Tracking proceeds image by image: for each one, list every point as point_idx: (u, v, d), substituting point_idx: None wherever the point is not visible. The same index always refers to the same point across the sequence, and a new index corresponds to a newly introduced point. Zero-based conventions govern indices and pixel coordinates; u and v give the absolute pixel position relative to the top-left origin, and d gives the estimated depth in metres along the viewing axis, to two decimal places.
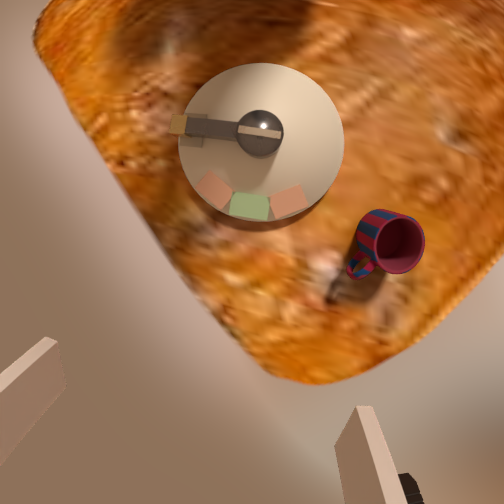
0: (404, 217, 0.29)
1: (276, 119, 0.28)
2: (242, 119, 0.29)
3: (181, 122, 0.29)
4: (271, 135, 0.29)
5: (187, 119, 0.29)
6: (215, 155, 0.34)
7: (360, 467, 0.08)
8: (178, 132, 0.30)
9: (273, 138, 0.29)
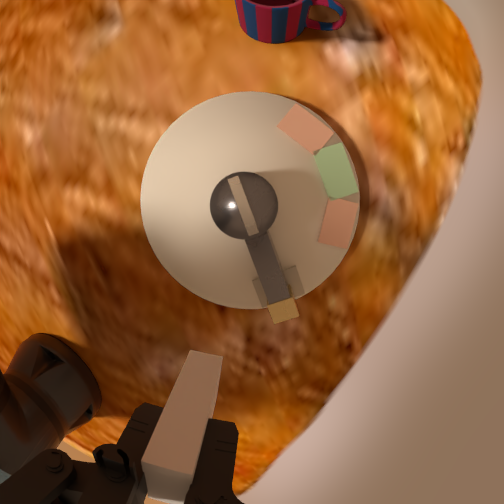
0: None
1: (215, 194, 0.21)
2: (238, 236, 0.22)
3: (279, 308, 0.24)
4: (239, 188, 0.21)
5: (272, 302, 0.24)
6: (297, 244, 0.26)
7: None
8: (293, 305, 0.24)
9: (242, 184, 0.21)
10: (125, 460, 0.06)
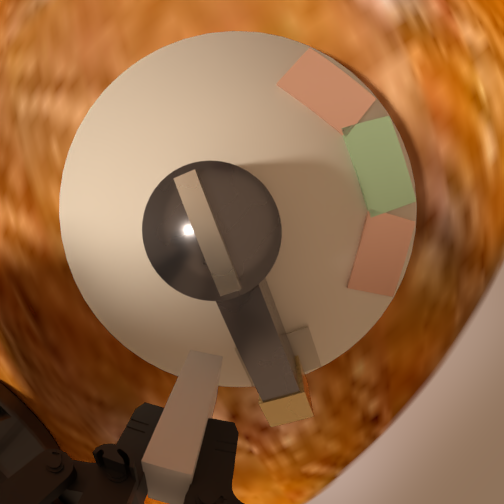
0: None
1: (150, 210, 0.10)
2: (200, 294, 0.11)
3: (280, 407, 0.12)
4: (198, 197, 0.10)
5: (268, 399, 0.12)
6: (311, 291, 0.15)
7: None
8: (305, 402, 0.12)
9: (204, 187, 0.10)
10: (125, 460, 0.06)
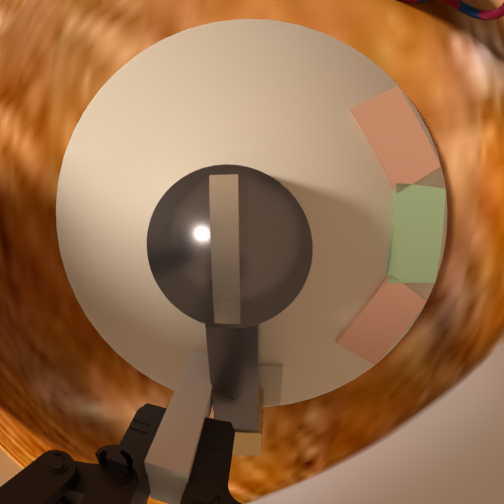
0: None
1: (168, 200, 0.08)
2: (192, 312, 0.09)
3: None
4: (230, 208, 0.08)
5: None
6: (300, 333, 0.14)
7: None
8: (257, 442, 0.11)
9: (240, 199, 0.08)
10: (128, 461, 0.06)
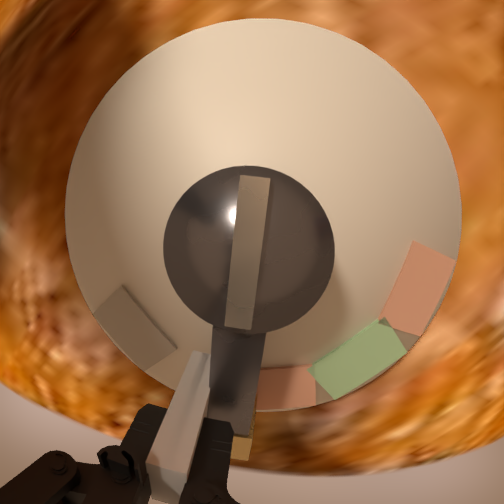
0: None
1: (193, 195, 0.08)
2: (202, 312, 0.09)
3: None
4: (257, 211, 0.08)
5: None
6: None
7: None
8: (247, 447, 0.11)
9: (269, 203, 0.08)
10: (130, 462, 0.06)
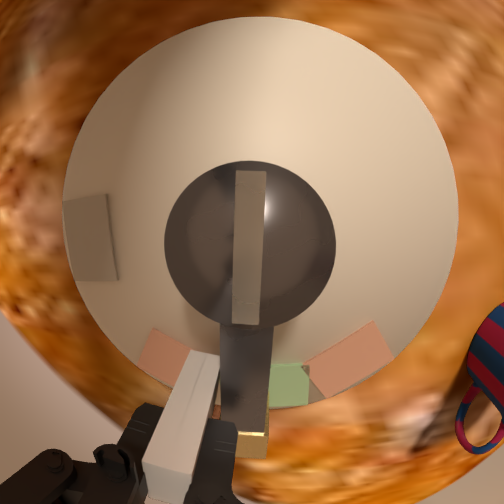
0: None
1: (190, 194, 0.08)
2: (208, 311, 0.09)
3: (237, 441, 0.11)
4: (255, 205, 0.08)
5: None
6: (154, 293, 0.13)
7: None
8: (263, 445, 0.11)
9: (266, 196, 0.08)
10: (126, 460, 0.06)
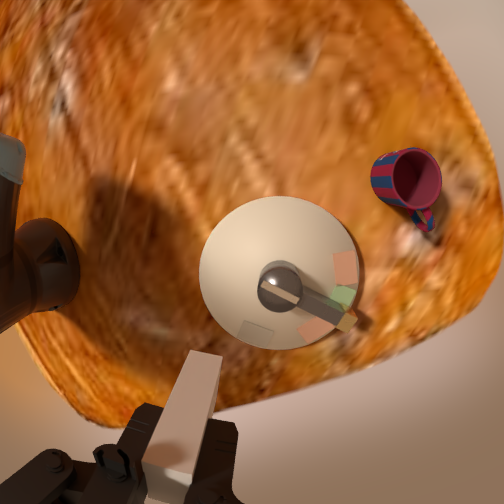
0: (393, 167, 0.27)
1: (260, 298, 0.32)
2: (290, 308, 0.32)
3: (343, 323, 0.33)
4: (270, 286, 0.32)
5: (337, 323, 0.33)
6: (284, 321, 0.37)
7: None
8: (349, 316, 0.32)
9: (269, 282, 0.32)
10: (125, 460, 0.06)
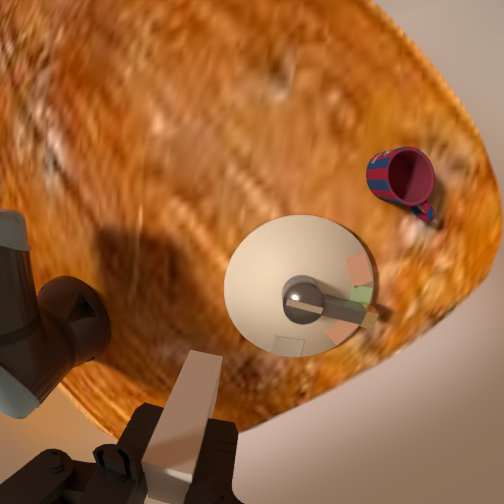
0: (387, 171, 0.29)
1: (287, 315, 0.34)
2: (316, 318, 0.34)
3: (366, 321, 0.34)
4: (294, 302, 0.34)
5: (361, 322, 0.35)
6: (312, 329, 0.39)
7: None
8: (371, 313, 0.34)
9: (293, 299, 0.34)
10: (125, 460, 0.06)
